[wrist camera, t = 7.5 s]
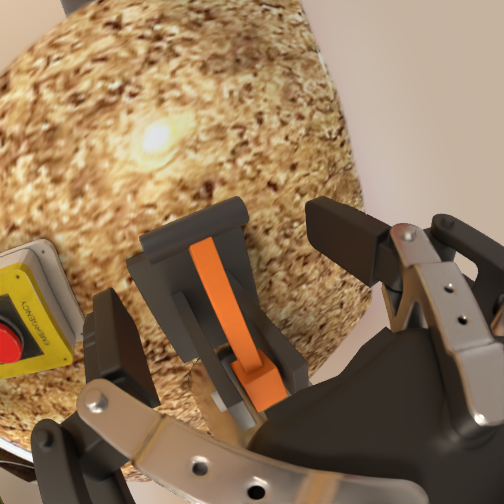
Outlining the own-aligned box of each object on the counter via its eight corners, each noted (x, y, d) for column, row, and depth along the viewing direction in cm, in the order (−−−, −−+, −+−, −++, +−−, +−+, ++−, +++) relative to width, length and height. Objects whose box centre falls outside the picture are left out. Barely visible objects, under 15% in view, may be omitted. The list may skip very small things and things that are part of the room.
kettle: (171, 366, 25) (250, 517, 12) (286, 307, 30) (399, 418, 16) (211, 414, 33) (272, 512, 20) (294, 369, 37) (368, 452, 24)
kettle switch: (138, 233, 12) (138, 240, 10) (228, 196, 14) (246, 195, 12) (225, 400, 16) (238, 423, 14) (288, 366, 18) (306, 384, 16)
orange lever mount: (125, 260, 18) (160, 393, 9) (233, 213, 21) (340, 296, 12) (180, 355, 25) (231, 455, 16) (258, 316, 28) (329, 398, 19)
